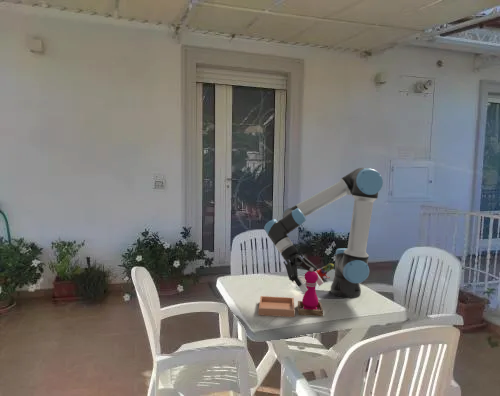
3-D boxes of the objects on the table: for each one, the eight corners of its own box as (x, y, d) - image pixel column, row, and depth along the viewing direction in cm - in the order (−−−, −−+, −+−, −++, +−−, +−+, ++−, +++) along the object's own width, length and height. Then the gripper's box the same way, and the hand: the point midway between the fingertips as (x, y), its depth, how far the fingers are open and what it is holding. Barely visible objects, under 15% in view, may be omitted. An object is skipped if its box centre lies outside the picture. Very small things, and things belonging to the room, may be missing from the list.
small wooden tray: (320, 307, 183) (320, 302, 183) (322, 316, 172) (323, 310, 172) (297, 306, 184) (297, 300, 183) (298, 315, 173) (298, 309, 173)
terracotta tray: (293, 303, 186) (293, 297, 186) (294, 317, 171) (294, 310, 171) (260, 302, 188) (260, 296, 187) (258, 315, 172) (258, 308, 172)
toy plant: (326, 286, 228) (338, 274, 221) (311, 279, 226) (323, 267, 219) (325, 275, 234) (337, 263, 228) (311, 269, 232) (322, 257, 226)
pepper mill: (307, 306, 183) (308, 264, 181) (321, 310, 178) (322, 267, 176) (298, 311, 178) (300, 267, 176) (312, 315, 173) (314, 271, 171)
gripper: (276, 248, 172) (304, 290, 164) (306, 240, 191) (333, 277, 183) (266, 258, 176) (292, 299, 168) (297, 249, 195) (322, 285, 187)
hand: (313, 287), depth 176 cm, fingers open, 13 cm apart
